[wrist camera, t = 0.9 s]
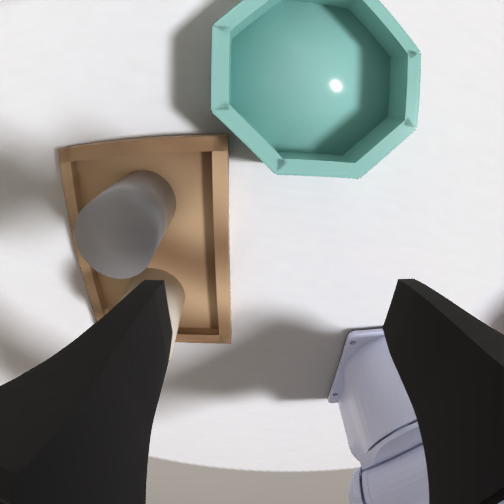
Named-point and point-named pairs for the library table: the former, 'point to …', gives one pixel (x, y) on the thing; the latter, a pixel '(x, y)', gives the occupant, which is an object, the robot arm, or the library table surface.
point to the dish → (315, 83)
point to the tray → (180, 229)
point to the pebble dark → (125, 224)
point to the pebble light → (172, 291)
